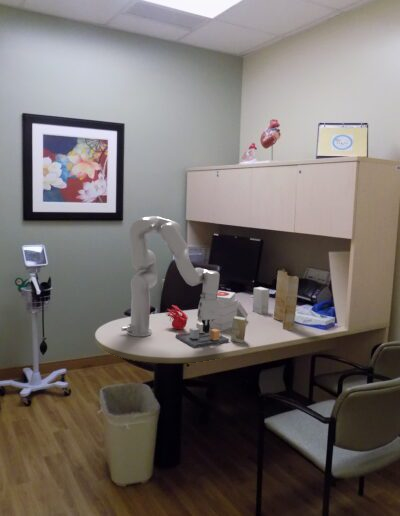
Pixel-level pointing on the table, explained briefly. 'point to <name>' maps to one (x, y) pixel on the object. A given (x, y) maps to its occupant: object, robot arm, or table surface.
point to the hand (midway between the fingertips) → (205, 331)
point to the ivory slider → (200, 327)
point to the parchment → (286, 299)
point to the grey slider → (194, 333)
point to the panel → (200, 340)
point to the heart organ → (177, 318)
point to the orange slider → (214, 334)
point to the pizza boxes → (227, 311)
